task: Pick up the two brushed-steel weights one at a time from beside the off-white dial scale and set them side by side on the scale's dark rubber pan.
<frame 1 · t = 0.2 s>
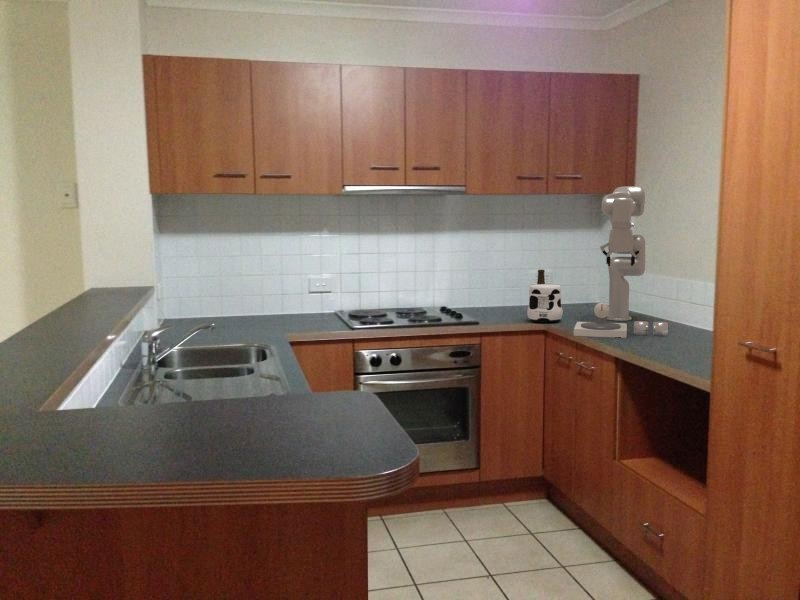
hand: (620, 265, 297), 30 cm above the counter, fingers open, 9 cm apart
steel weight a: (640, 334, 300), on the counter
dial scale: (600, 332, 305), on the counter
milk container: (544, 321, 340), on the counter
beer bottle: (540, 314, 366), on the counter
steel weight b: (660, 335, 297), on the counter
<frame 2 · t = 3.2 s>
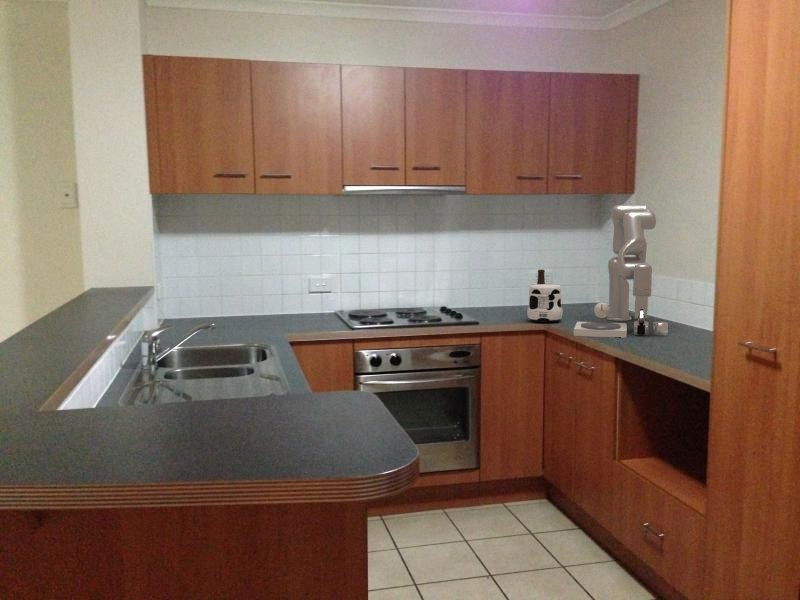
hand: (640, 332, 300), 1 cm above the counter, fingers closed on steel weight a, 6 cm apart
steel weight a: (640, 334, 300), on the counter, touching gripper
everything else where it was.
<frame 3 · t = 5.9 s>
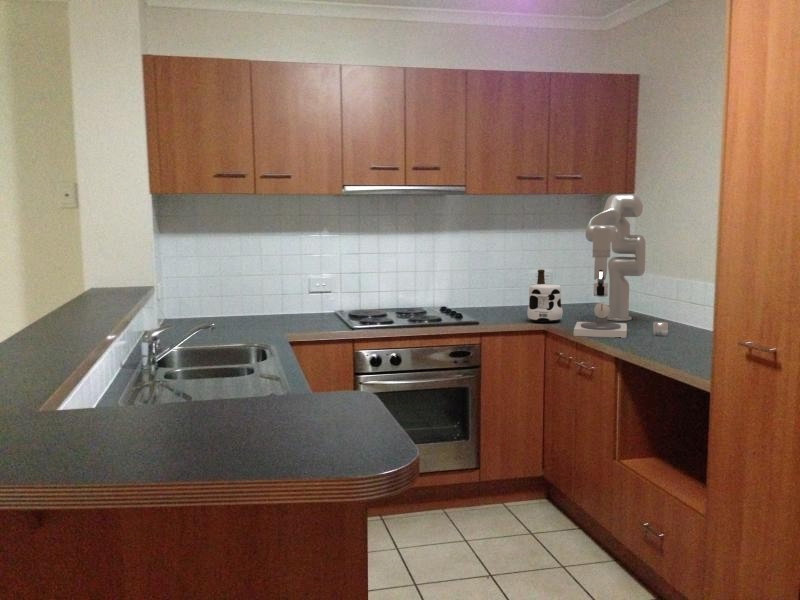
hand: (600, 294, 302), 18 cm above the counter, fingers closed on steel weight a, 6 cm apart
steel weight a: (600, 295, 302), point 17 cm above the counter, touching gripper
everything else where it was.
when the fingers open (6 cm above the counter, at t = 8.9 s): steel weight a drops 1 cm, resting on dial scale.
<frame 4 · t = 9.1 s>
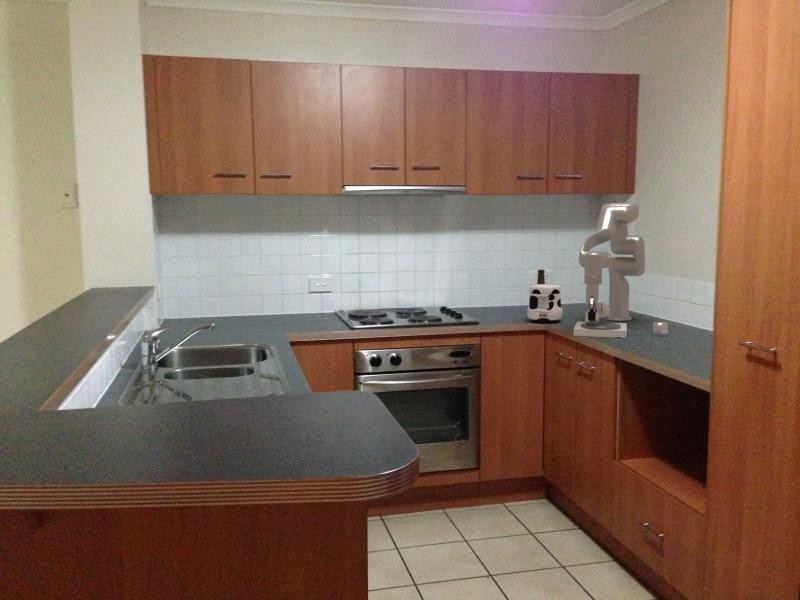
hand: (592, 319, 304), 6 cm above the counter, fingers open, 8 cm apart
steel weight a: (592, 324, 304), point 4 cm above the counter, touching dial scale
everything else where it was.
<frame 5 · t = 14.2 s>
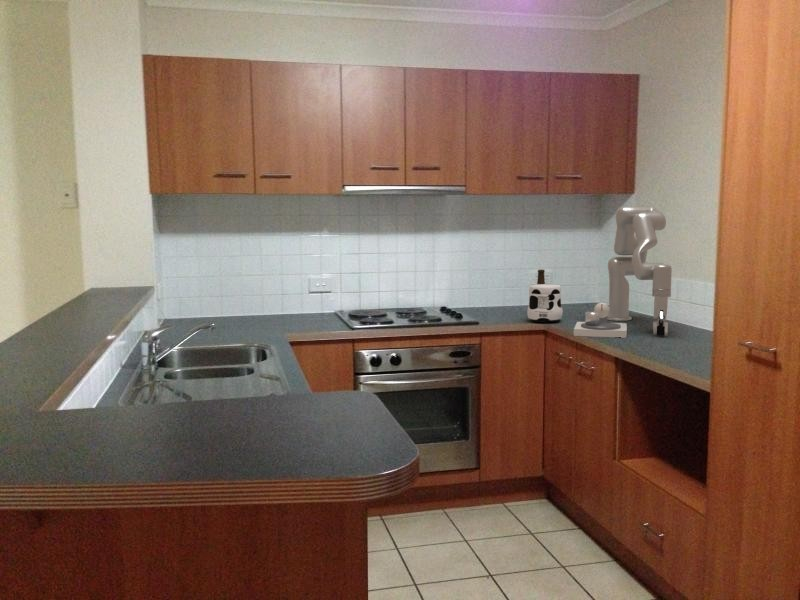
hand: (660, 333, 297), 1 cm above the counter, fingers closed on steel weight b, 6 cm apart
steel weight b: (660, 335, 297), on the counter, touching gripper
everything else where it was.
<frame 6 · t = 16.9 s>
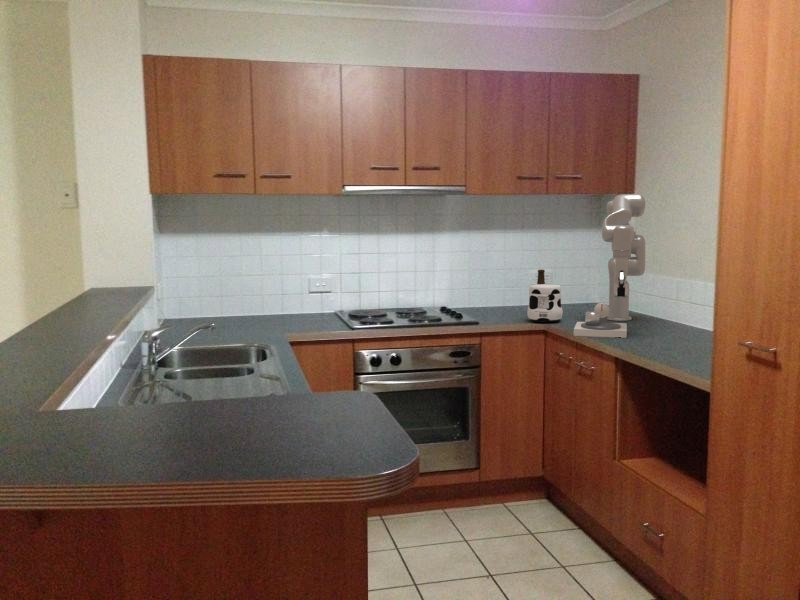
hand: (620, 295, 299), 17 cm above the counter, fingers closed on steel weight b, 6 cm apart
steel weight b: (620, 296, 299), point 17 cm above the counter, touching gripper
everything else where it was.
when the fingers open (6 cm above the counter, at t = 19.9 s): steel weight b drops 1 cm, resting on dial scale.
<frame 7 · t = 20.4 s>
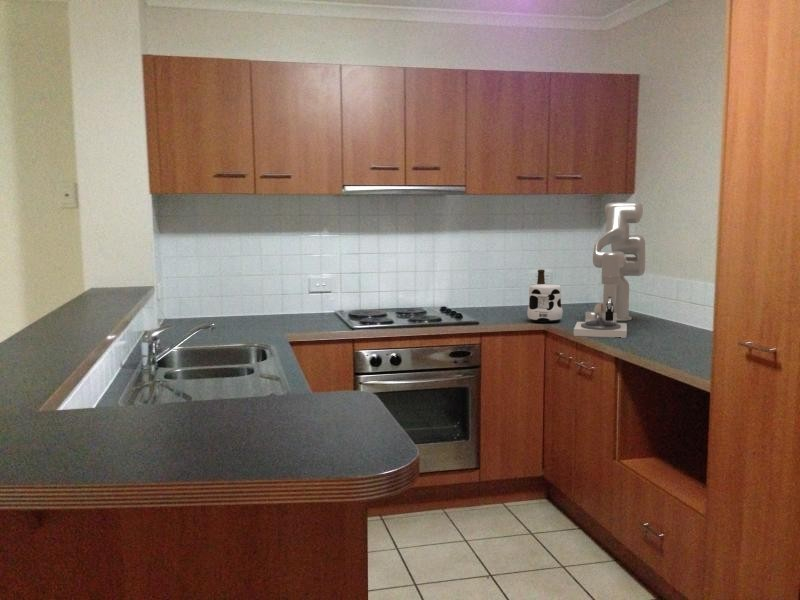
hand: (609, 319, 301), 7 cm above the counter, fingers open, 9 cm apart
steel weight b: (609, 325, 302), point 4 cm above the counter, touching dial scale
everything else where it was.
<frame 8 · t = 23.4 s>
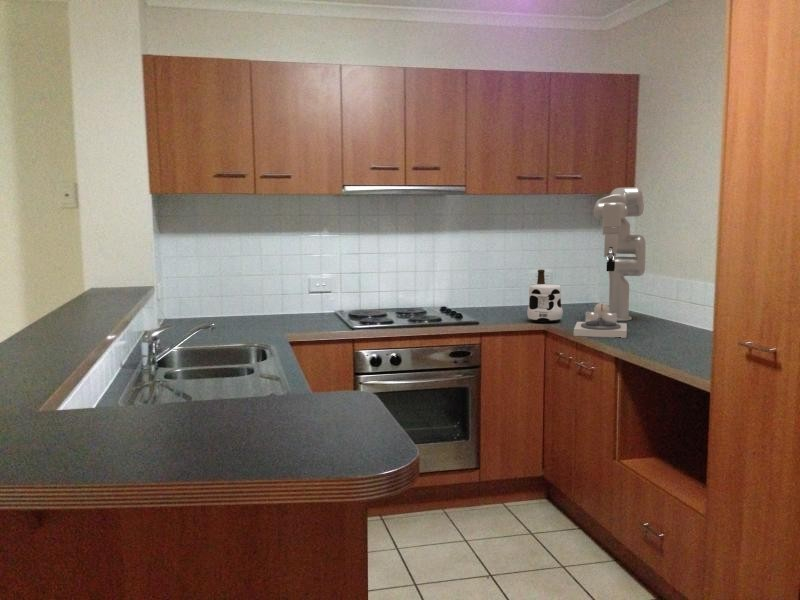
hand: (610, 270, 299), 28 cm above the counter, fingers open, 9 cm apart
nothing on the counter moved.
at the end: steel weight a inside the target area on the dial scale (3.6 cm from its centre), point 3.8 cm above the dial scale's base; steel weight b inside the target area on the dial scale (3.7 cm from its centre), point 3.8 cm above the dial scale's base; steel weight b tilted 0° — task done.
